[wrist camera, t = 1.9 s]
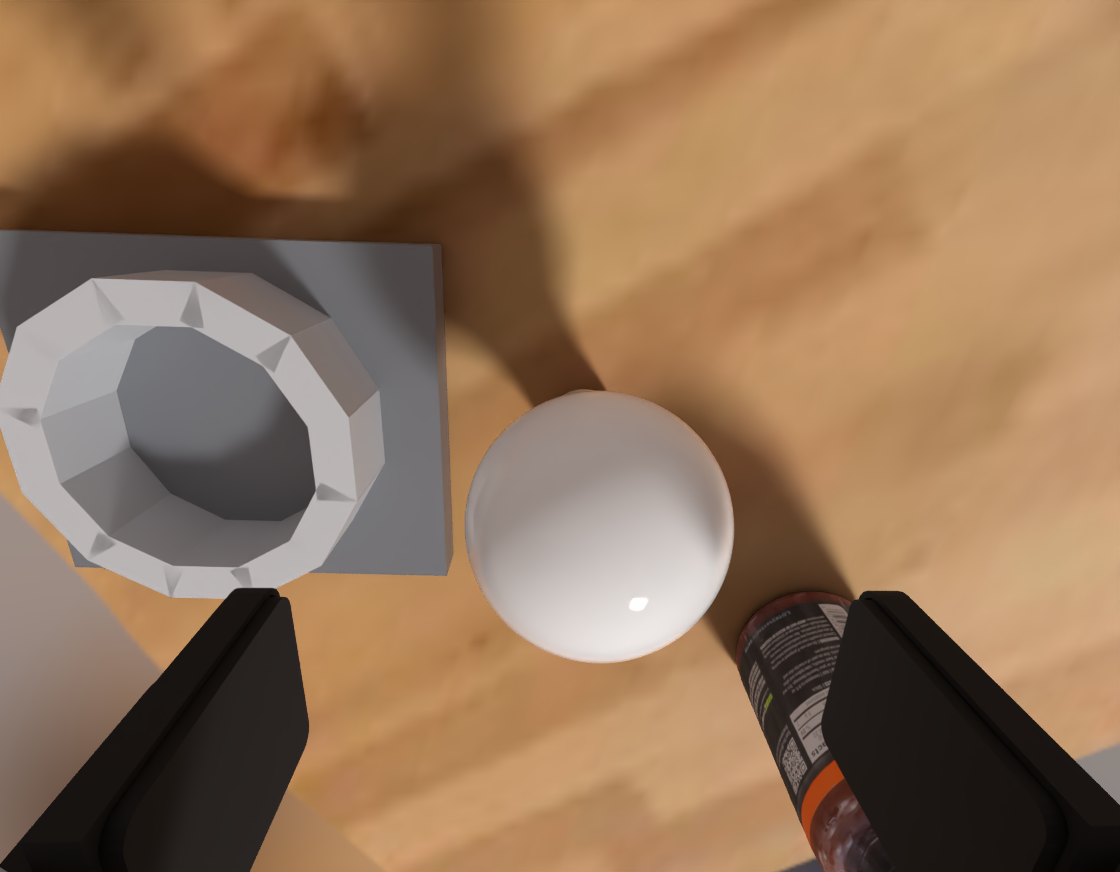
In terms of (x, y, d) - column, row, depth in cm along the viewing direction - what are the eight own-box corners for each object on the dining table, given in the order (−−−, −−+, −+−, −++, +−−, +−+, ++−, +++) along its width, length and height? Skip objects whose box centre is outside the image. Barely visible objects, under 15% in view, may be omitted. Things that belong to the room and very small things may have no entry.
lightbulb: (505, 322, 20) (452, 428, 9) (683, 345, 20) (818, 471, 10) (490, 485, 22) (433, 715, 12) (650, 504, 22) (732, 743, 12)
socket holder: (441, 244, 19) (408, 249, 15) (453, 554, 23) (430, 628, 19) (14, 229, 19) (-145, 230, 14) (105, 546, 23) (2, 618, 18)
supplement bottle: (879, 671, 25) (1113, 991, 15) (750, 709, 26) (885, 1040, 15) (853, 565, 23) (1102, 847, 13) (715, 609, 24) (840, 910, 13)
